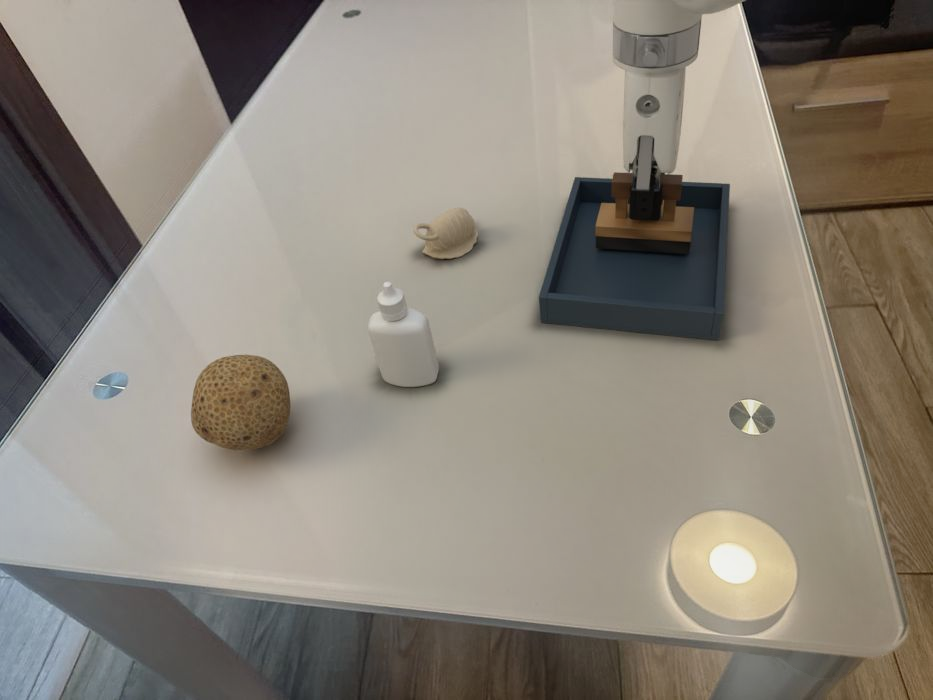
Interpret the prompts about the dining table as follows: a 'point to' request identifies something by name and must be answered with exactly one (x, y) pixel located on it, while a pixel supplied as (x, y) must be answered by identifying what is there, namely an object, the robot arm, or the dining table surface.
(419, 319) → the eye dropper bottle
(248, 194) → the dining table surface
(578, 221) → the tray
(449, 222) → the decorative ornament
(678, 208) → the brush
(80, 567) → the dining table surface
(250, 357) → the natural sponge
